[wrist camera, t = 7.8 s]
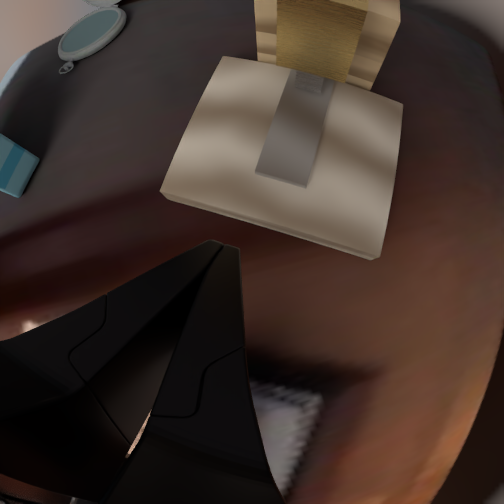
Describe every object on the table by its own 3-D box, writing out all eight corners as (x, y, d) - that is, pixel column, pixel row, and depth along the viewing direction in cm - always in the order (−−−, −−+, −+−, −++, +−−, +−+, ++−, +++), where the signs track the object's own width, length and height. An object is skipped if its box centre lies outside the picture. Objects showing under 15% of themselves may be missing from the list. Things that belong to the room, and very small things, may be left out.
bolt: (339, 99, 20) (367, 11, 11) (275, 82, 20) (276, -10, 11) (350, 45, 21) (372, -31, 12) (296, 31, 21) (301, -48, 12)
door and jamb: (370, 260, 21) (440, 235, 11) (168, 199, 23) (107, 140, 13) (398, 76, 23) (434, 7, 13) (244, 35, 25) (236, -41, 15)
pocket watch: (127, -59, 16) (50, 12, 15) (150, -2, 27) (96, 74, 25) (67, -39, 17) (-4, 35, 15) (94, 8, 28) (41, 81, 26)
